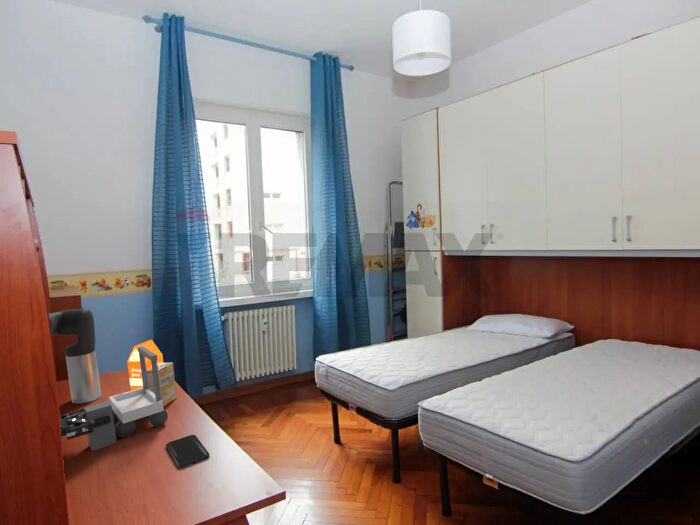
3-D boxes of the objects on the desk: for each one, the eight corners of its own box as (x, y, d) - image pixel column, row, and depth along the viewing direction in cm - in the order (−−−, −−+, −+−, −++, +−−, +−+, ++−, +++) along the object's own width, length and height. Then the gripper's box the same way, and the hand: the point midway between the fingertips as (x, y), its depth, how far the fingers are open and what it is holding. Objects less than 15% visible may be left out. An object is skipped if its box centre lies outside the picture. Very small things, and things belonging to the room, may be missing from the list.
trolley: (106, 423, 135) (97, 355, 134) (153, 408, 144) (145, 344, 142) (119, 442, 122) (109, 367, 120) (170, 425, 130) (162, 354, 128)
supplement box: (163, 408, 144) (158, 370, 143) (150, 408, 145) (145, 370, 144) (177, 398, 152) (173, 361, 151) (165, 398, 153) (161, 362, 152)
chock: (89, 445, 121) (84, 407, 120) (113, 437, 125) (108, 400, 124) (92, 451, 118) (86, 412, 117) (116, 442, 122) (111, 405, 121)
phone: (194, 433, 122) (210, 454, 109) (194, 437, 122) (210, 459, 109) (164, 443, 117) (177, 466, 105) (165, 447, 117) (178, 471, 105)
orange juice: (167, 392, 158) (161, 339, 156) (150, 402, 150) (143, 346, 148) (149, 392, 160) (142, 339, 158) (131, 402, 152) (124, 346, 150)
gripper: (37, 430, 106) (110, 408, 116) (32, 413, 117) (100, 394, 127) (41, 459, 107) (114, 435, 117) (36, 439, 118) (104, 419, 128)
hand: (107, 414), depth 122 cm, fingers open, 8 cm apart
